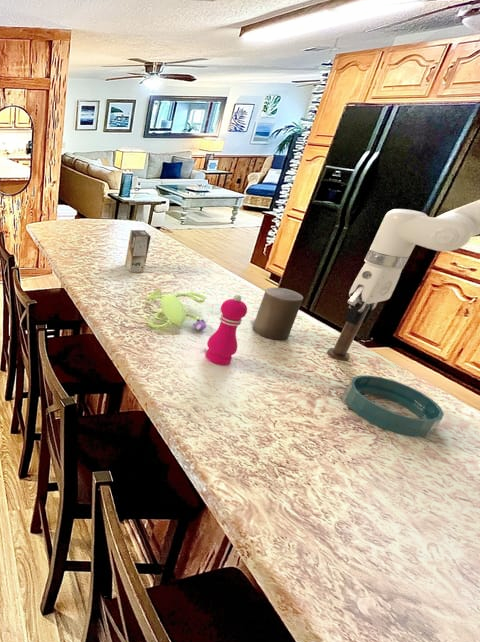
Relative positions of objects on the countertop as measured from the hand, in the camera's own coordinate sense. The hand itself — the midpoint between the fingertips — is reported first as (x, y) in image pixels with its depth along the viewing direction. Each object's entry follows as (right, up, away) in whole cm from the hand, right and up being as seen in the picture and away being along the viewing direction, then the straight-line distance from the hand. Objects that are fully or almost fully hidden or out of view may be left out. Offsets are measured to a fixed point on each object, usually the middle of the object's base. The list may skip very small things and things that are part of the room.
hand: (355, 321), depth 106 cm
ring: (-9, -21, -17) cm, 29 cm away
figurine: (-38, 0, +26) cm, 46 cm away
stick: (0, -10, +5) cm, 12 cm away
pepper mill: (-37, -11, +3) cm, 38 cm away
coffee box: (-39, +19, +64) cm, 77 cm away
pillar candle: (-12, -5, +16) cm, 21 cm away
